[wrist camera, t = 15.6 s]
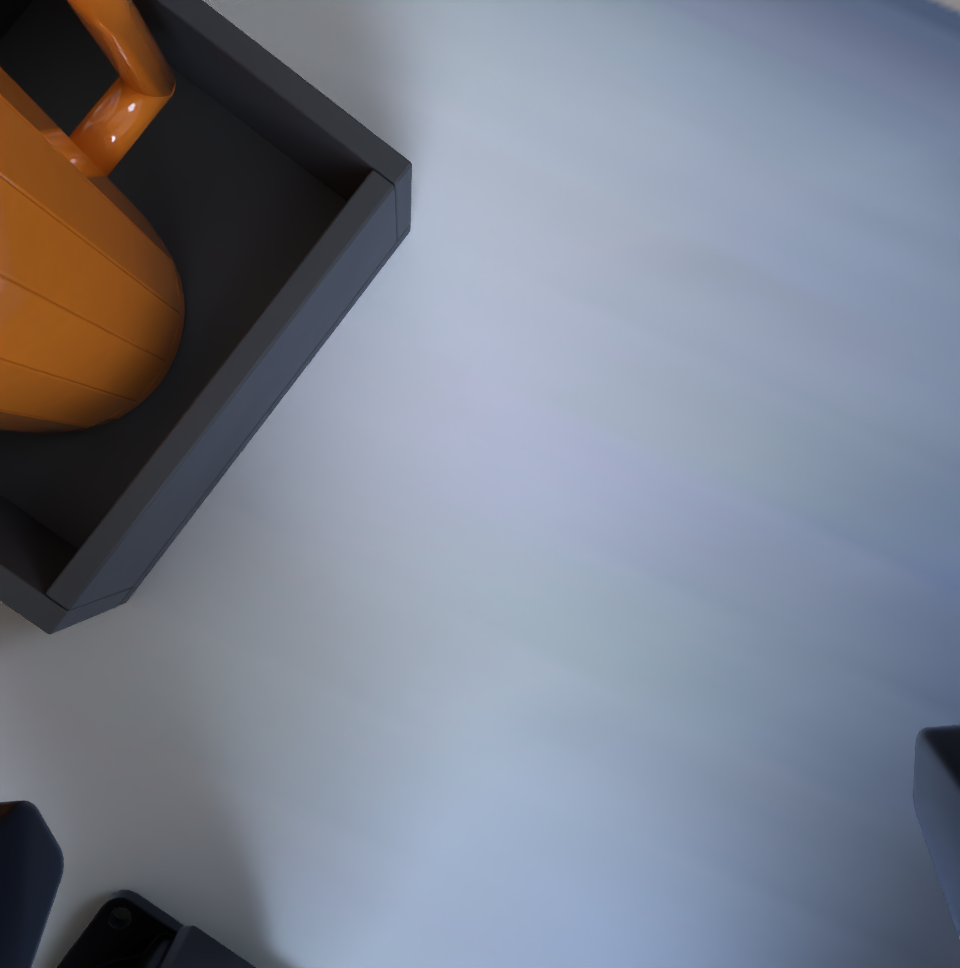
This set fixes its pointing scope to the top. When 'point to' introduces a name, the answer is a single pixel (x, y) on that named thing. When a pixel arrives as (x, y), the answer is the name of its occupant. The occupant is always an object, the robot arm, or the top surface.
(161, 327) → the tall orange mug
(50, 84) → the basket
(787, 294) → the top surface
